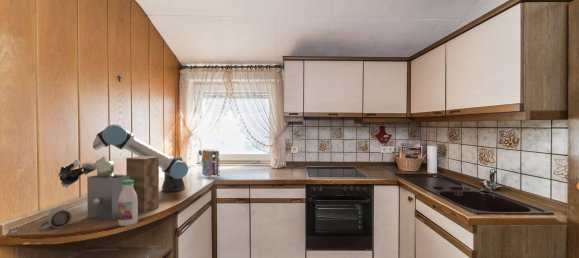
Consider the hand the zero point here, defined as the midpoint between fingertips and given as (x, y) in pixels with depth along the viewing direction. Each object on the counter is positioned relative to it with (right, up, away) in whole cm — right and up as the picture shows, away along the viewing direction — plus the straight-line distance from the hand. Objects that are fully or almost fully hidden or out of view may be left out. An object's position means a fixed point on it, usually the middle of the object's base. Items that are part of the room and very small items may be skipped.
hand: (92, 160), depth 142 cm
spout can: (+3, -8, -1) cm, 8 cm away
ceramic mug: (-4, -28, -18) cm, 34 cm away
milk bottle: (+26, -28, -13) cm, 41 cm away
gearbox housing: (+11, -28, -3) cm, 30 cm away
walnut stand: (+21, -28, +9) cm, 36 cm away
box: (+29, -27, +101) cm, 109 cm away
